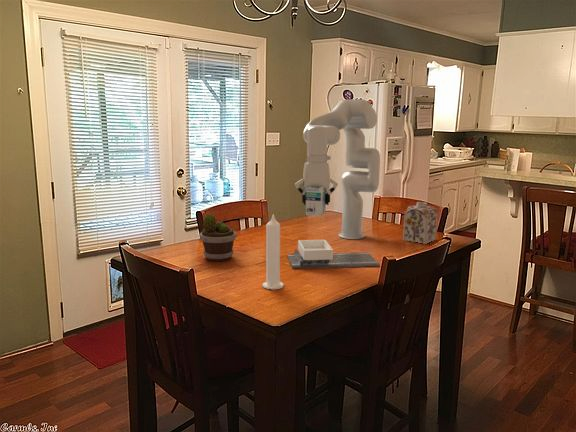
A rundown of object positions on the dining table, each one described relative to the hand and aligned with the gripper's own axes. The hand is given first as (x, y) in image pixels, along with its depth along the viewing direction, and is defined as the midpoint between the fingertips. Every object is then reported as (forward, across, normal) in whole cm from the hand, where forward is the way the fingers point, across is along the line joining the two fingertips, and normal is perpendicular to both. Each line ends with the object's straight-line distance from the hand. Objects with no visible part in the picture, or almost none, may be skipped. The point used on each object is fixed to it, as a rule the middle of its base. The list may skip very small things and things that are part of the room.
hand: (315, 204), depth 187 cm
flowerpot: (+23, +38, -9) cm, 46 cm away
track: (+23, -7, 0) cm, 24 cm away
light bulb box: (+4, 0, 0) cm, 4 cm away
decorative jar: (+24, -55, -29) cm, 66 cm away
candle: (+23, +19, +26) cm, 40 cm away
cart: (+22, 0, 0) cm, 22 cm away
